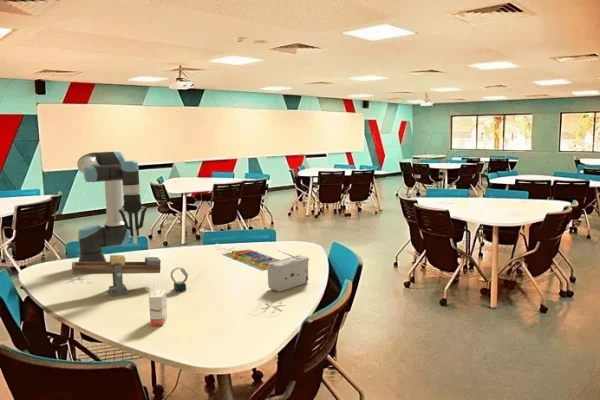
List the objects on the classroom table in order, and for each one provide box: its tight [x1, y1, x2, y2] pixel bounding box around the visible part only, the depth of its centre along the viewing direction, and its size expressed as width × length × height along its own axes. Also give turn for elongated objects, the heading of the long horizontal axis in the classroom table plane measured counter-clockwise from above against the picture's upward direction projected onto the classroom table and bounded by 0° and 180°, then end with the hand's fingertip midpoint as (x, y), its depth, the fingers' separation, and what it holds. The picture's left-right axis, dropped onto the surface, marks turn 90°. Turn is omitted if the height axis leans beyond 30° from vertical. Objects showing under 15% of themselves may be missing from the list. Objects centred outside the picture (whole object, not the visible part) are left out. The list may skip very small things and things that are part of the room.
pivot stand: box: [108, 265, 129, 298], centre depth 218 cm, size 13×7×14 cm, turn 29°
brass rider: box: [109, 254, 126, 266], centre depth 217 cm, size 6×6×5 cm
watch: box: [170, 266, 189, 293], centre depth 219 cm, size 6×8×11 cm
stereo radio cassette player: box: [267, 250, 310, 293], centre depth 221 cm, size 21×8×20 cm, turn 135°
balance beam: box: [71, 256, 162, 275], centre depth 217 cm, size 9×38×6 cm, turn 119°
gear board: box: [222, 248, 281, 272], centre depth 272 cm, size 45×2×19 cm
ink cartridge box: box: [148, 283, 168, 327], centre depth 181 cm, size 9×5×15 cm, turn 5°
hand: (135, 242), depth 220 cm, fingers closed
